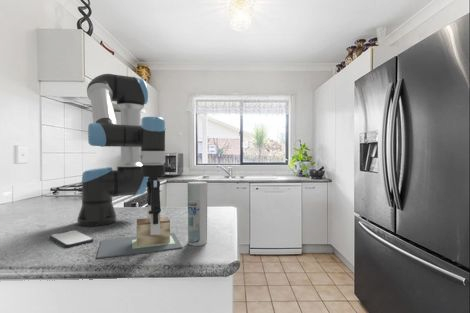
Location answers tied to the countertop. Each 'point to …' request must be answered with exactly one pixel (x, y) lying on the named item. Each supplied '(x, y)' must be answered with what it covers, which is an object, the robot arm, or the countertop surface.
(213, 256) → the countertop surface
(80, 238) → the phone case
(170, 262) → the countertop surface
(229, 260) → the countertop surface
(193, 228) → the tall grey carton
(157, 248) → the mat
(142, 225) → the box
